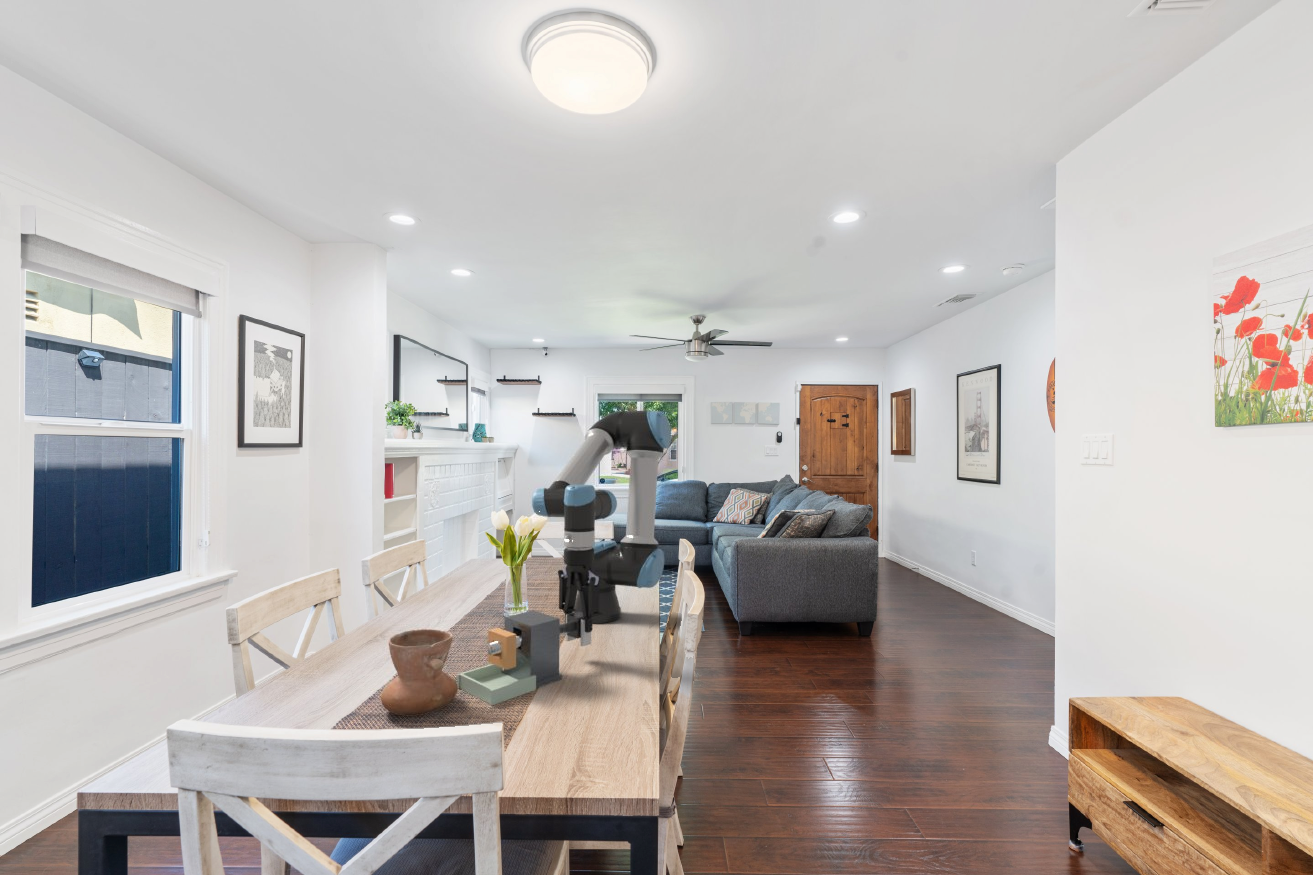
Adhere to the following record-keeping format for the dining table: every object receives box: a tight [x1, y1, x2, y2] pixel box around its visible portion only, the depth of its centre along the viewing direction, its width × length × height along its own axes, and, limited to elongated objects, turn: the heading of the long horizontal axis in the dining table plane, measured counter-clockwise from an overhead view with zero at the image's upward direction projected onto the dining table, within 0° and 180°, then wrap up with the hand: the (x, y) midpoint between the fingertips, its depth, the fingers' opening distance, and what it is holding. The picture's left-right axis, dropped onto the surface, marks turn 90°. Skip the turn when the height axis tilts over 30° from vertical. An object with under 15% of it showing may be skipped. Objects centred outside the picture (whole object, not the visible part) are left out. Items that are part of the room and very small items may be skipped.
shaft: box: [486, 612, 583, 655], centre depth 142 cm, size 27×4×5 cm, turn 138°
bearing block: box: [501, 610, 563, 689], centre depth 140 cm, size 8×12×14 cm, turn 48°
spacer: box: [487, 627, 516, 670], centre depth 134 cm, size 2×7×7 cm, turn 48°
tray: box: [456, 663, 537, 706], centre depth 133 cm, size 11×13×3 cm
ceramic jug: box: [380, 628, 459, 717], centre depth 124 cm, size 18×14×14 cm
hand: (578, 642), depth 150 cm, fingers open, 5 cm apart
